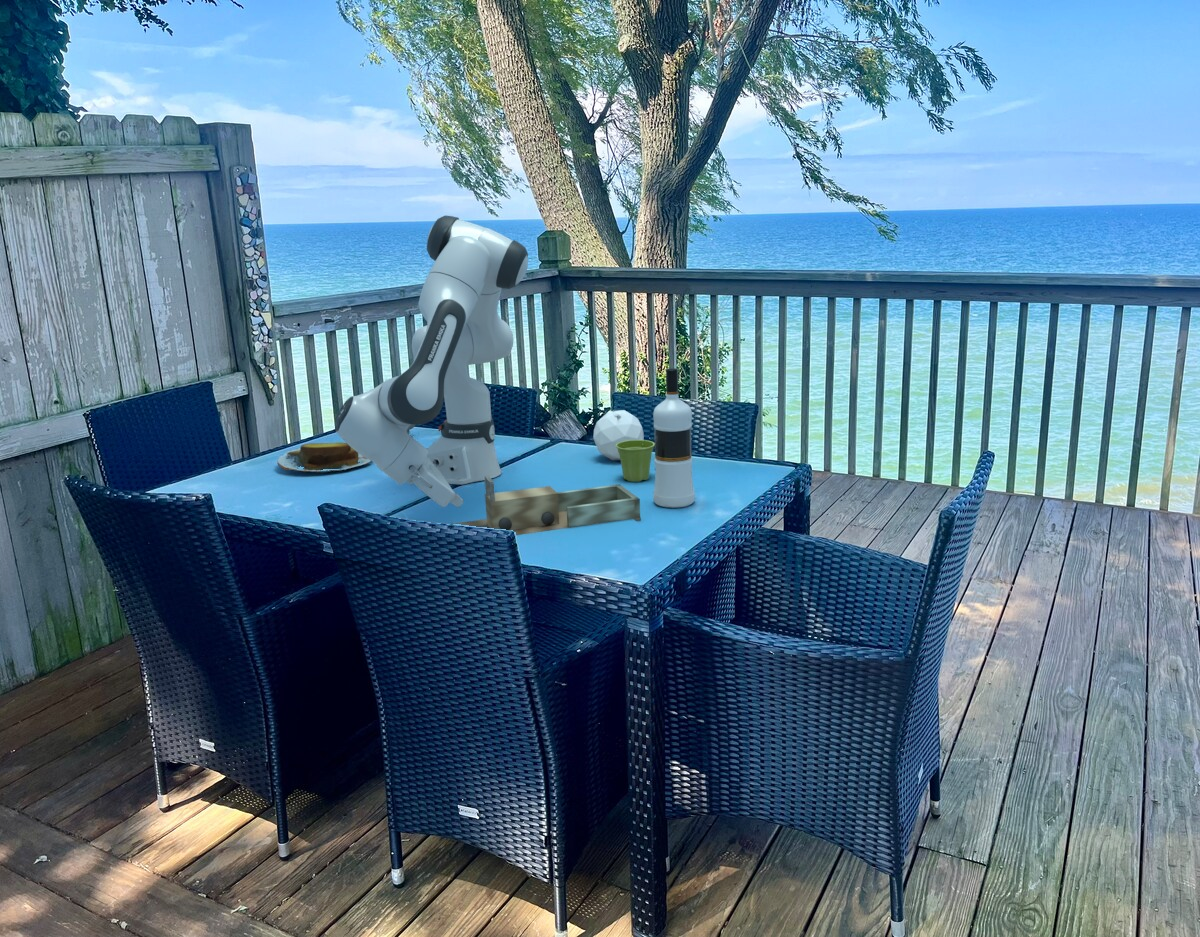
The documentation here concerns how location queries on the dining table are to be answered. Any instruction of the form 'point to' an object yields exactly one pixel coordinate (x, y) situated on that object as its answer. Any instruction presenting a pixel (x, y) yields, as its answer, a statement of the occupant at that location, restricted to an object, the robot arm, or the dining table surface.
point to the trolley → (520, 507)
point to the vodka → (673, 448)
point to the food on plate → (322, 457)
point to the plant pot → (635, 459)
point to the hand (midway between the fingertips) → (460, 502)
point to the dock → (586, 508)
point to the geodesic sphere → (616, 432)
